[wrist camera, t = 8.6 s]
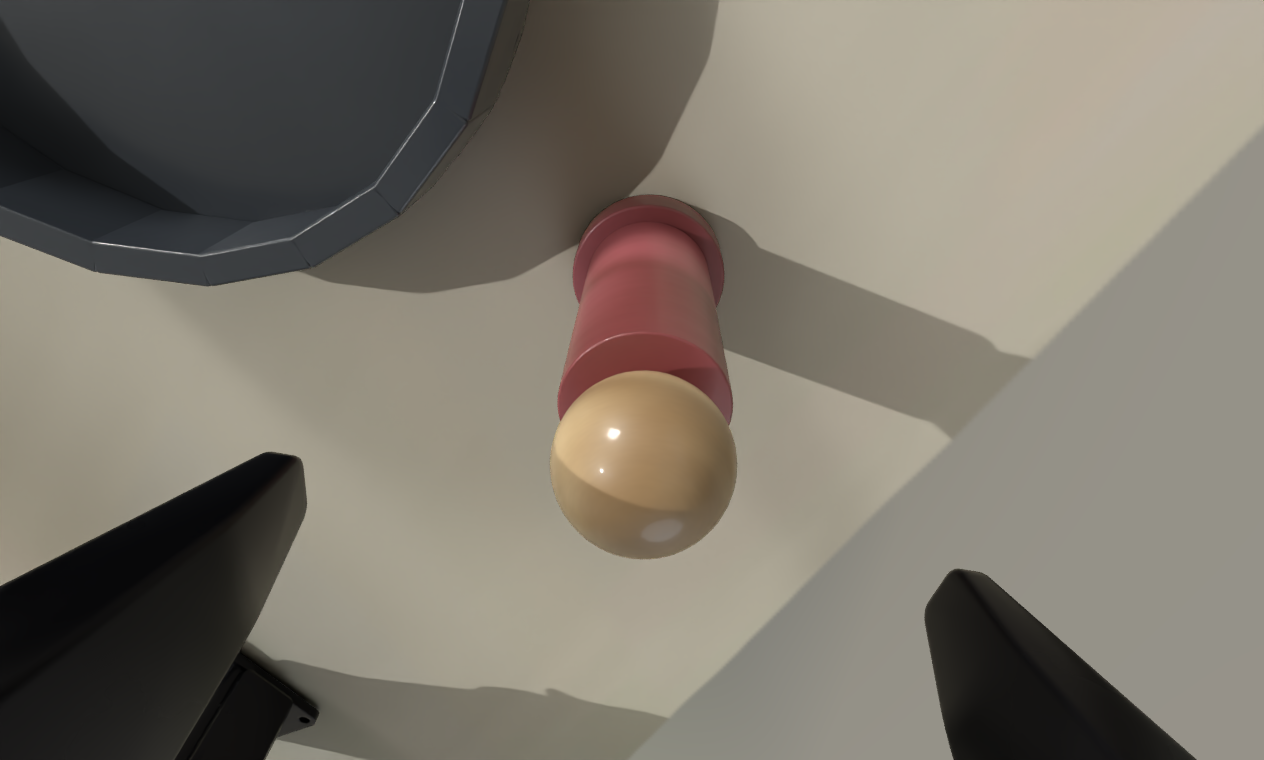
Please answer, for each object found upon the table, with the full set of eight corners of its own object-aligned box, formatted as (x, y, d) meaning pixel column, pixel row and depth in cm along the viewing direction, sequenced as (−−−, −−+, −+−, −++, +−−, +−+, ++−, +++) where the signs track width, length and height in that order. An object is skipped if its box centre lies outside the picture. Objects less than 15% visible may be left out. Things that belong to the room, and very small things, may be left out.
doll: (620, 351, 19) (591, 648, 10) (548, 238, 17) (442, 484, 9) (744, 294, 18) (825, 573, 9) (681, 165, 16) (709, 366, 7)
